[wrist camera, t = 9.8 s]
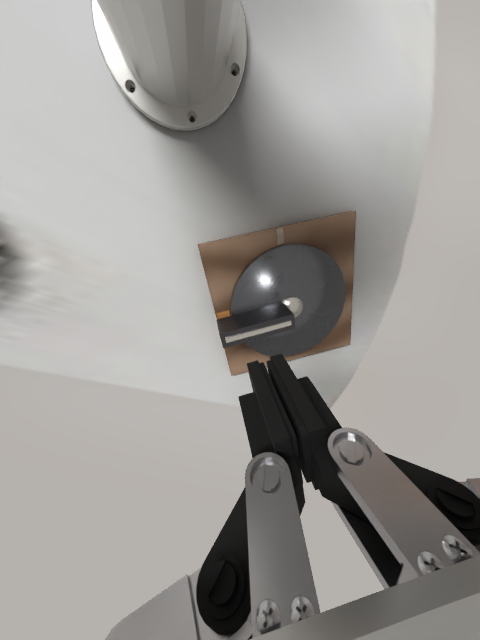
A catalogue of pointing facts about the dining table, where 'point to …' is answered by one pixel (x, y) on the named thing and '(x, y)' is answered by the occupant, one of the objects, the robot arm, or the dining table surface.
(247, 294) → the dial
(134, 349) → the dining table surface
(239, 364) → the dial base plate
